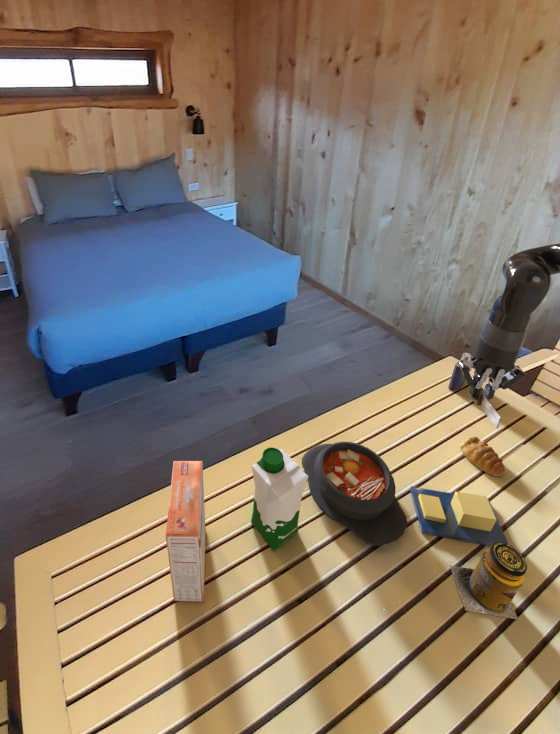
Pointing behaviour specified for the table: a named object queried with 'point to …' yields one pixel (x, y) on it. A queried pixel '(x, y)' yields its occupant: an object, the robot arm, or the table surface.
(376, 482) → the casserole
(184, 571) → the cracker box
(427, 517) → the butter pat
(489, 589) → the condiment
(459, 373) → the flask
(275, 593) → the table surface
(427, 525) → the butter dish
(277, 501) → the milk carton
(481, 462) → the pastry
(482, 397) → the knife
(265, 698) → the table surface
